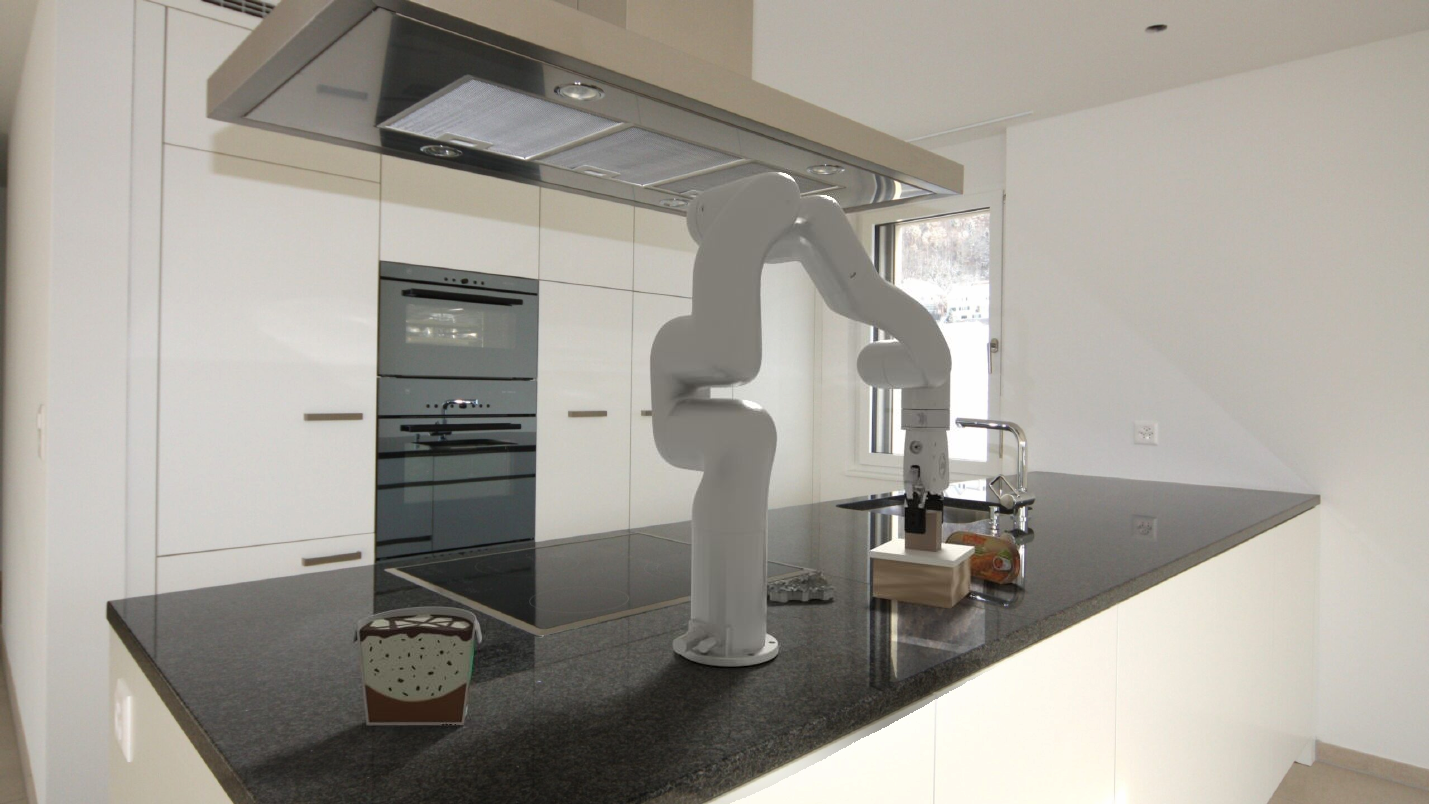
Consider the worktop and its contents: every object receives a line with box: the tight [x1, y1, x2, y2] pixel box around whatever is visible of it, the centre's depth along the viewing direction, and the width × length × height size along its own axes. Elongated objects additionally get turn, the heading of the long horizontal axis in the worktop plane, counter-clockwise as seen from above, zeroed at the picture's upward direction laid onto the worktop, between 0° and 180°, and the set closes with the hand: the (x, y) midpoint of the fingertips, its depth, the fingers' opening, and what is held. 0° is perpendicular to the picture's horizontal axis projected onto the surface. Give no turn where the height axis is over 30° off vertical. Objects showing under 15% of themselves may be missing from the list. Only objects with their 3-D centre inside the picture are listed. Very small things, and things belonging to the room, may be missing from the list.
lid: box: [868, 510, 975, 568], centre depth 127 cm, size 13×13×7 cm
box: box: [872, 556, 971, 609], centre depth 127 cm, size 12×12×7 cm
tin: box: [944, 530, 1021, 585], centre depth 140 cm, size 15×3×8 cm, turn 31°
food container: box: [350, 606, 483, 726], centre depth 81 cm, size 12×6×10 cm, turn 92°
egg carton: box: [767, 570, 837, 603], centre depth 125 cm, size 11×8×4 cm
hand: (924, 528), depth 127 cm, fingers open, 9 cm apart
